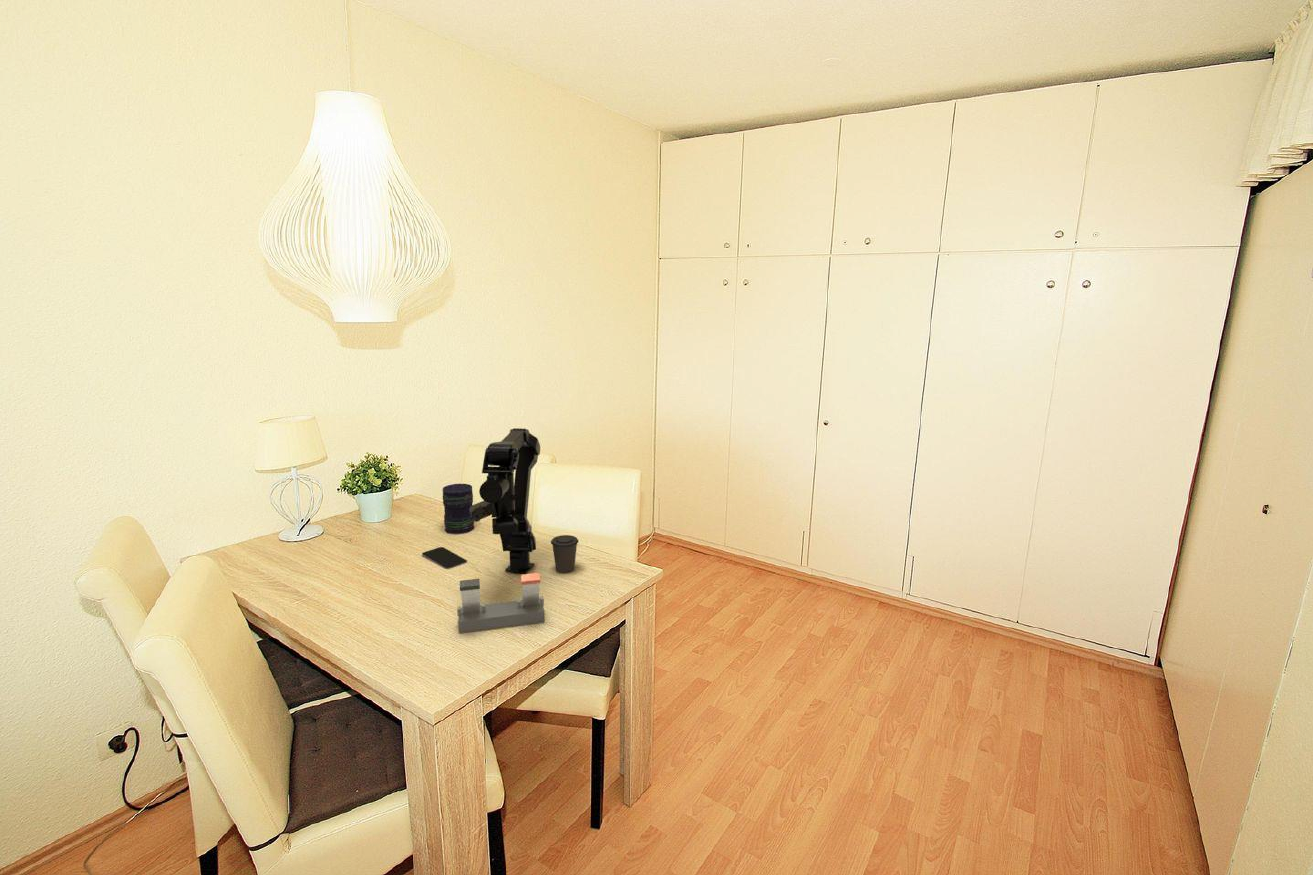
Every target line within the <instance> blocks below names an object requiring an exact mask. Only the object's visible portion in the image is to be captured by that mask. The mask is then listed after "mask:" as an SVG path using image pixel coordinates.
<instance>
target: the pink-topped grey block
mask: <svg viewBox="0 0 1313 875" xmlns="http://www.w3.org/2000/svg"><path fill="white" fill-rule="evenodd" d="M520 581H521V582H520V583H521V600H522V606H531V605H539V598H540V584H541V574H540V572H537V573H535V572H534V573H525V574H520Z"/></svg>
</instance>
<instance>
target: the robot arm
mask: <svg viewBox="0 0 1313 875" xmlns="http://www.w3.org/2000/svg"><path fill="white" fill-rule="evenodd" d="M485 448H486V449H485V451H484V458H483V463H482V468H481V469H482V470H481V474H487V475H486V480H485V481H483V483H482V484H481V485H480V487H479V491H478V493H479V496H480V498H481V499H482V501H480V502H478V503H475V504H472V506H471V507H470V513H471V516H472V518H473V520H474V523H477V522H480V520H482V519H485V518H487V517H489V516H491V519H492V520H491V524H492V525H491V526H492V534H493V535H499V537H500V541H501V546H502V551H503V552H509V553H508V554H509V565H508V566H507V567H506V568H505V570H504V571H505V572H508V573H515V574H522V575H525V574H528V572H529V571H530V570H531V569H532V568H533V567H534V566H535V563H533V562H531V561H530V560H531V559H530V555H531V554H530V553H532V552H533V551H535V550H537V542H536V537H535V535H534V533H533V531H532V525H531V524H530V521H529V520H528V509H529V508H528V507H529V501H530V500H529V499H530V498H529V496H530V486H531V475H532V470H533V468H534V467H535V465H537V463H538V458H539V456H540V454H541V444H540V441H539V438H537V437H536V436H535V435H533V434H532V433H530V431H529V429H527V428H520V427H519V428H516V427H515V428H512V429H510V430H509V433H508V434H507V435H506V436H505V437H503V439H502V440H501V441H496V442H495V441H494V442H491V443H489V444H488V446H487V447H485Z"/></svg>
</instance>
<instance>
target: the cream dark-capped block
mask: <svg viewBox="0 0 1313 875" xmlns="http://www.w3.org/2000/svg"><path fill="white" fill-rule="evenodd" d="M480 582H481V581H480V578H474V579H472V578H471V579H463V580H459V592H460V595H461V607H462V610H463V614H465V613H473V612H480V605H481V600H480V597H481V596H480V588H481V587H480Z"/></svg>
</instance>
